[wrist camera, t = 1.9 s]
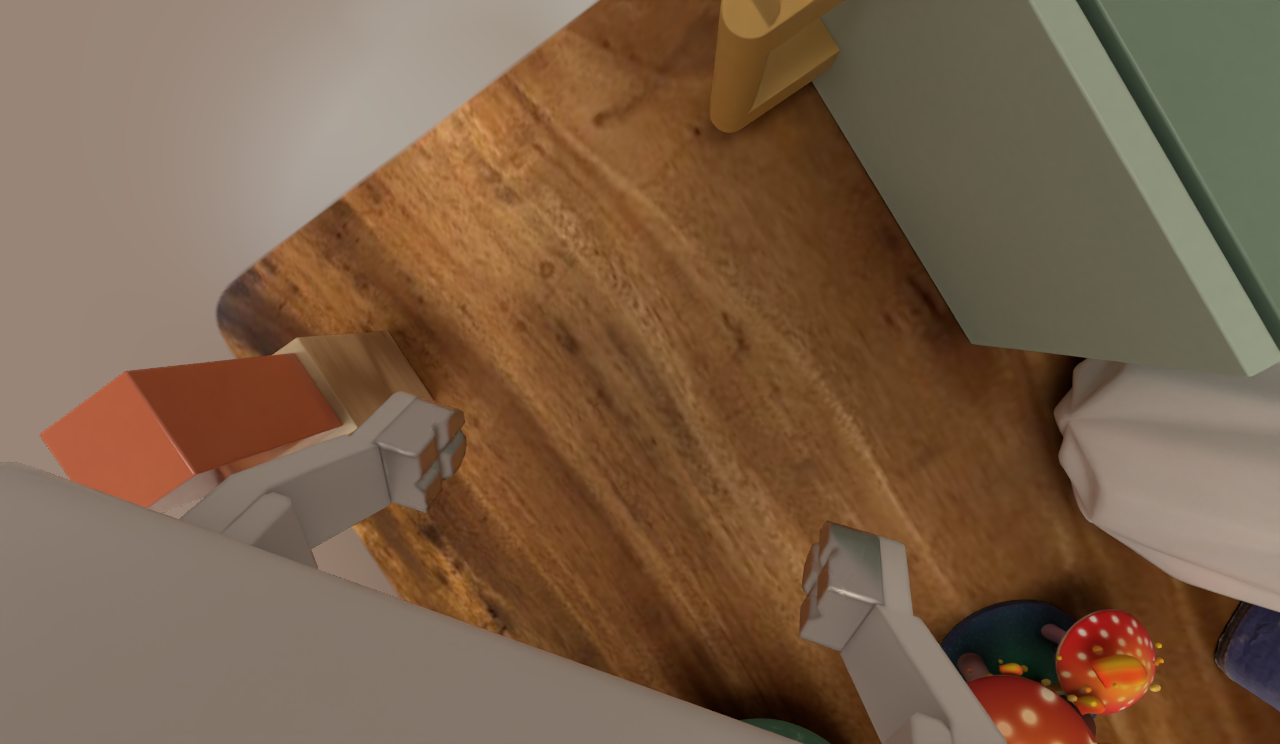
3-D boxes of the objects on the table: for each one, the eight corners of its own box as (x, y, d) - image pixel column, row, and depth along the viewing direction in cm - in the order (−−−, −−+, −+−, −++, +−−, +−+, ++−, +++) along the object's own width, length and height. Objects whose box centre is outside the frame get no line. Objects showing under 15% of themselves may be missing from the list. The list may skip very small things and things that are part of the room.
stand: (323, 374, 35) (215, 394, 27) (388, 330, 34) (296, 336, 26) (369, 443, 35) (276, 483, 27) (434, 400, 34) (358, 428, 26)
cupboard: (990, 332, 31) (1302, 355, 15) (797, 13, 30) (916, -313, 14) (1184, 218, 30) (1747, 113, 14) (987, -121, 29) (1350, -643, 13)
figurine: (955, 781, 34) (1043, 935, 26) (883, 647, 34) (947, 760, 25) (1154, 699, 33) (1315, 835, 24) (1081, 559, 32) (1220, 647, 24)
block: (229, 397, 27) (36, 434, 19) (294, 351, 26) (124, 370, 18) (278, 469, 27) (107, 535, 19) (343, 424, 26) (196, 474, 19)
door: (872, 402, 32) (1046, 489, 16) (681, 93, 31) (673, -124, 16) (987, 334, 31) (1286, 359, 16) (793, 14, 30) (904, -300, 15)
